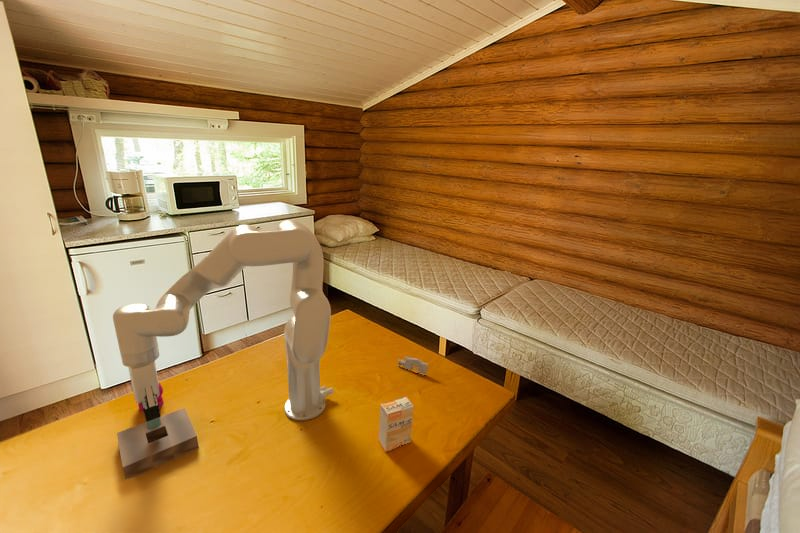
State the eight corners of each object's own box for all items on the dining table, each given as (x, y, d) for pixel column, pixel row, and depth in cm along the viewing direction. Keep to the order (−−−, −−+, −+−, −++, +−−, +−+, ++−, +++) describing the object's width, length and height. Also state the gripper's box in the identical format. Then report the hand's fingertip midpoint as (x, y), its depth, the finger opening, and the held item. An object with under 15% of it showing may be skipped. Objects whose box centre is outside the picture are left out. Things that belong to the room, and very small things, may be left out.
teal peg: (159, 420, 96) (153, 385, 93) (161, 426, 94) (155, 391, 91) (146, 424, 94) (139, 390, 91) (148, 431, 92) (141, 396, 89)
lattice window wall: (397, 367, 138) (398, 353, 136) (399, 365, 139) (400, 351, 137) (425, 377, 132) (426, 363, 130) (427, 374, 134) (428, 361, 132)
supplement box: (385, 453, 98) (387, 414, 94) (378, 441, 102) (379, 403, 98) (411, 443, 102) (414, 406, 98) (403, 432, 106) (405, 395, 102)
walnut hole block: (186, 418, 107) (184, 407, 105) (198, 447, 97) (196, 435, 96) (119, 444, 96) (116, 433, 95) (125, 480, 87) (122, 467, 85)
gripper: (117, 344, 91) (130, 404, 97) (125, 374, 80) (139, 440, 85) (152, 335, 96) (163, 393, 102) (164, 363, 84) (175, 426, 90)
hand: (152, 414), depth 93 cm, fingers closed on teal peg, 3 cm apart
